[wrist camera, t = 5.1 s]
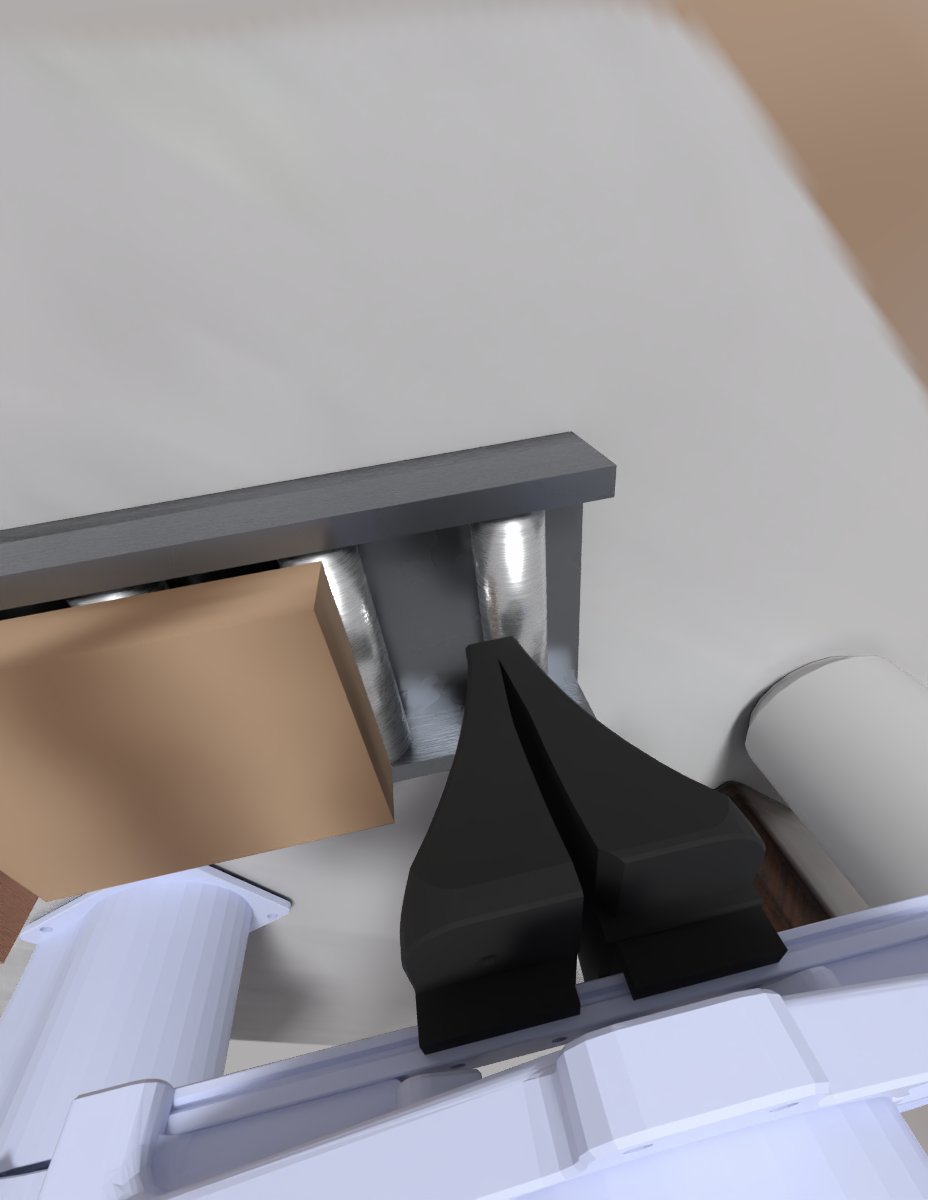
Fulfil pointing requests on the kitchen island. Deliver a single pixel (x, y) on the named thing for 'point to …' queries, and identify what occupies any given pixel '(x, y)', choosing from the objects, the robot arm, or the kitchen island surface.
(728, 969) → the robot arm
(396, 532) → the roller bed
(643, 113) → the kitchen island surface
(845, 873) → the can
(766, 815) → the manual coffee grinder
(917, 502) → the kitchen island surface
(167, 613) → the tan flat block
